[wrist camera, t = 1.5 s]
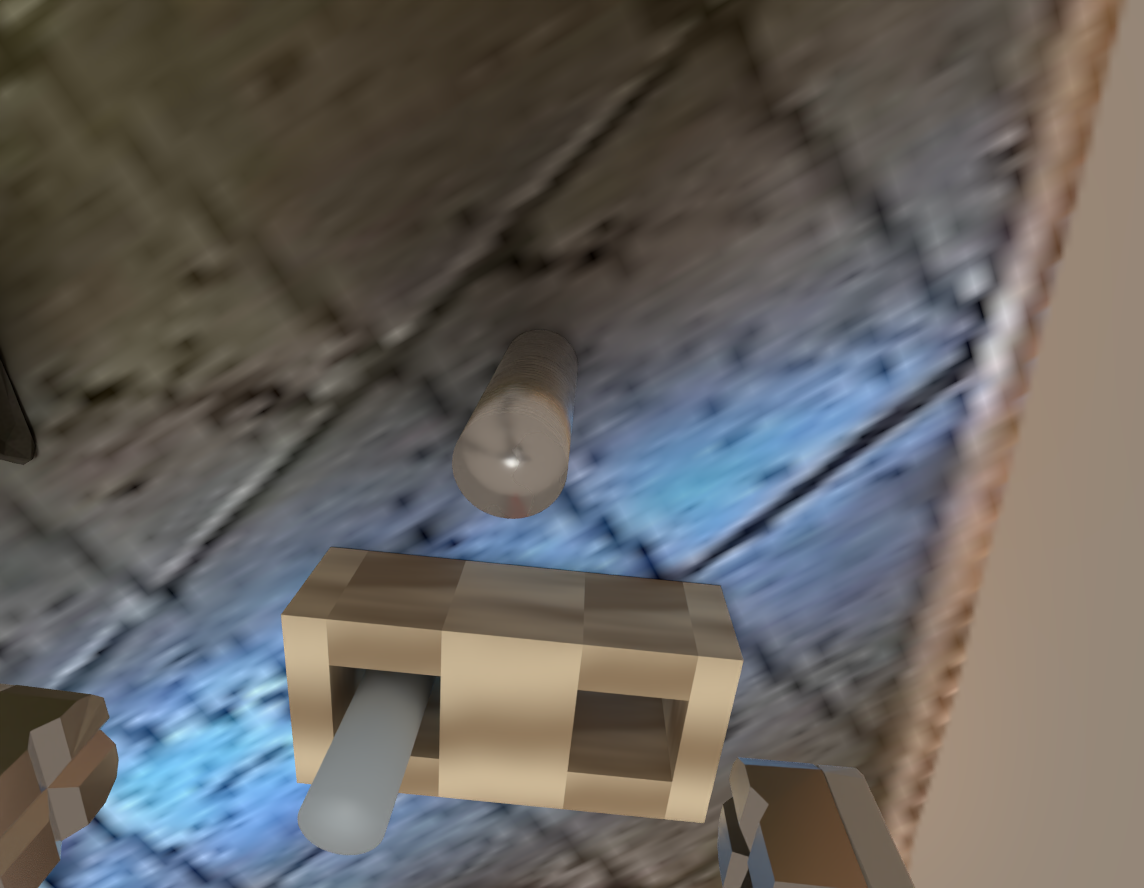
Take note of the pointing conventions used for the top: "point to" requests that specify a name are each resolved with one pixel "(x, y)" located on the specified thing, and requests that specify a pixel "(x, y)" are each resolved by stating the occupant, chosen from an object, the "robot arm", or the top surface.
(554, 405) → the steel peg
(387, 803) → the gray peg
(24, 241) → the top surface
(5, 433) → the figurine
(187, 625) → the top surface
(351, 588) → the hole block
